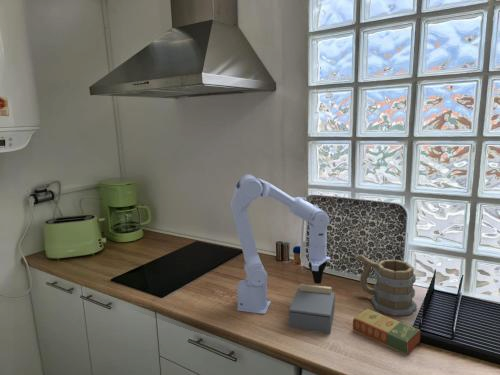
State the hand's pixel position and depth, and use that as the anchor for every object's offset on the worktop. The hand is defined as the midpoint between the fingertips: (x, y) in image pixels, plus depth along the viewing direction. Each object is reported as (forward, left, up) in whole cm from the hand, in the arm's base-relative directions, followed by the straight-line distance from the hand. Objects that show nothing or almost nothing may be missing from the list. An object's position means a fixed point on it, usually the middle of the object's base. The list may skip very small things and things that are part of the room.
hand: (317, 282), depth 120 cm
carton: (+21, -16, -7) cm, 27 cm away
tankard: (+21, +4, -7) cm, 22 cm away
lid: (0, -12, -1) cm, 12 cm away
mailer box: (0, -12, -6) cm, 13 cm away
